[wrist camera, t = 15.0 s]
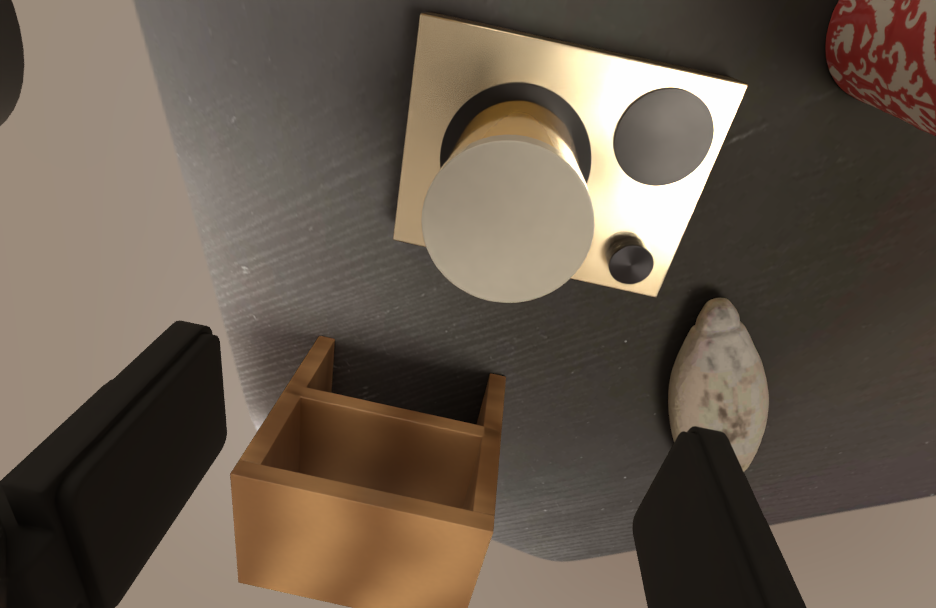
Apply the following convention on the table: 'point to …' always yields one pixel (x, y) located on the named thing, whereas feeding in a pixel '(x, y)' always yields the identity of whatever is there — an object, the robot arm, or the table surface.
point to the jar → (510, 206)
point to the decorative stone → (720, 381)
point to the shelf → (366, 496)
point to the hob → (576, 134)
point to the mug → (887, 56)
